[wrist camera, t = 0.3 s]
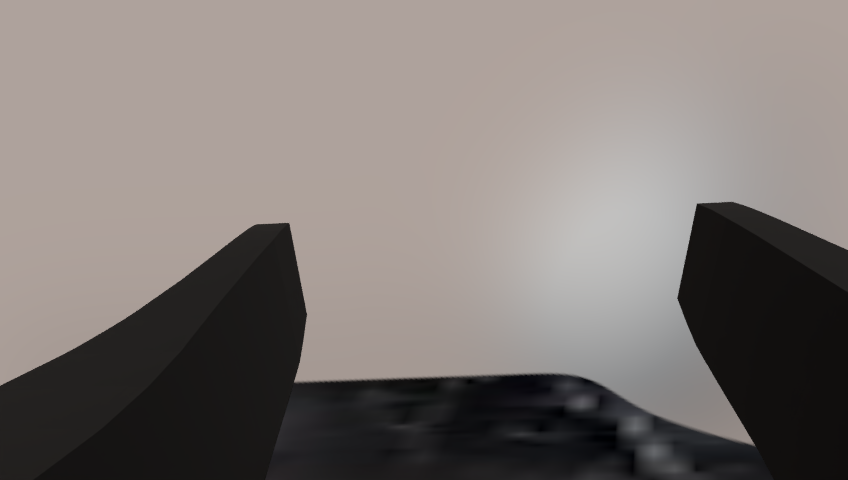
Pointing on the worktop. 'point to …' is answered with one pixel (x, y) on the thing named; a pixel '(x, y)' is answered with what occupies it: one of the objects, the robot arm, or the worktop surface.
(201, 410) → the robot arm
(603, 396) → the worktop surface
